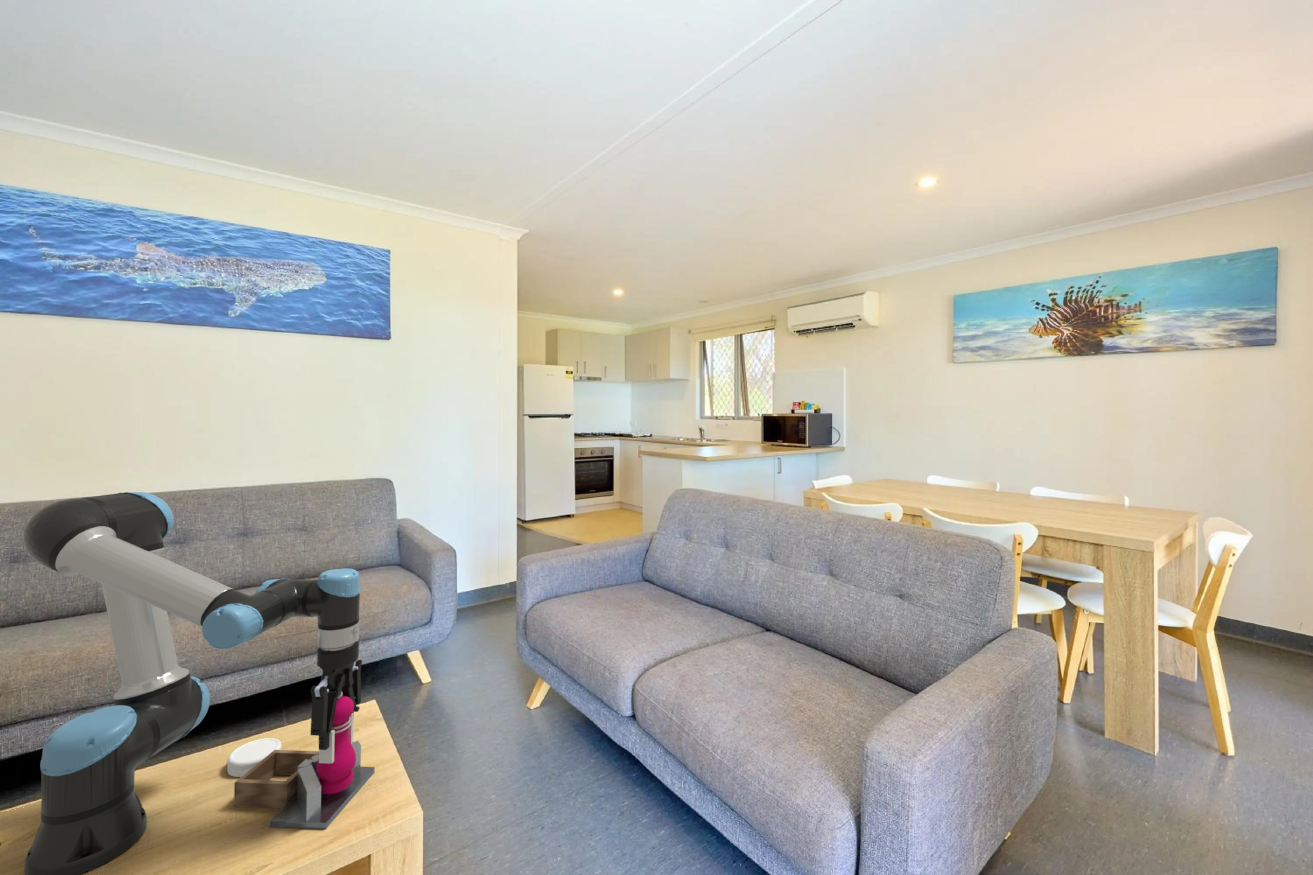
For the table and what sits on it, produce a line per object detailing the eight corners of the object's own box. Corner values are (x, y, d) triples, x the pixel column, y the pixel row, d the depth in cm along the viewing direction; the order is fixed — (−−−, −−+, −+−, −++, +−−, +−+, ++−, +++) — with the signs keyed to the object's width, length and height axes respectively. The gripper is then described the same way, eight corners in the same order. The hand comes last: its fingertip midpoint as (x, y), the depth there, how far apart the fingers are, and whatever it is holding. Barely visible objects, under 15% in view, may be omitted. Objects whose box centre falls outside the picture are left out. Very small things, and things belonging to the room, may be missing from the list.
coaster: (292, 753, 125) (292, 739, 125) (254, 781, 115) (254, 765, 115) (255, 749, 126) (255, 734, 126) (215, 775, 116) (215, 760, 116)
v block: (325, 828, 101) (326, 792, 101) (269, 826, 102) (270, 790, 102) (374, 772, 118) (375, 740, 118) (326, 770, 119) (326, 739, 119)
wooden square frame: (234, 806, 107) (234, 782, 107) (274, 771, 118) (274, 749, 118) (286, 808, 107) (287, 784, 107) (322, 773, 118) (322, 751, 118)
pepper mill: (336, 798, 106) (338, 701, 106) (307, 792, 107) (308, 696, 107) (363, 775, 113) (365, 684, 113) (335, 770, 114) (337, 680, 114)
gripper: (326, 664, 100) (324, 782, 100) (380, 627, 119) (378, 727, 119) (288, 662, 100) (286, 781, 101) (348, 626, 119) (346, 726, 119)
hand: (336, 752), depth 110 cm, fingers closed on pepper mill, 6 cm apart
